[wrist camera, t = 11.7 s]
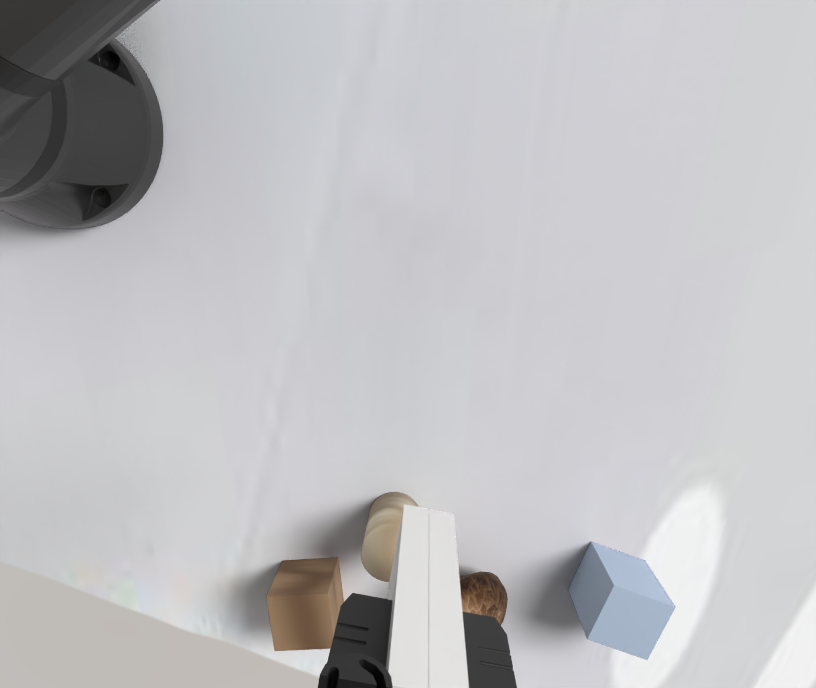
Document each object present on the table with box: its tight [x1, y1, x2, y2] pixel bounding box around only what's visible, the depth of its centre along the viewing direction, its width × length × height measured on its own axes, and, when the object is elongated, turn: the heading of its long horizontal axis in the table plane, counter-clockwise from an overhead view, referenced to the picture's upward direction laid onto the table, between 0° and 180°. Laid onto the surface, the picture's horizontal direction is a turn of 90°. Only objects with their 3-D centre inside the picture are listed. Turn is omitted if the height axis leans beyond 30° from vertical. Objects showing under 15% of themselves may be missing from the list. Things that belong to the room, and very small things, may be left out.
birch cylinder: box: [361, 492, 418, 582], centre depth 44 cm, size 4×4×6 cm
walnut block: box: [266, 557, 344, 651], centre depth 47 cm, size 5×5×5 cm
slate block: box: [568, 542, 675, 660], centre depth 45 cm, size 5×5×6 cm
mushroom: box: [459, 572, 508, 625], centre depth 46 cm, size 8×8×6 cm
